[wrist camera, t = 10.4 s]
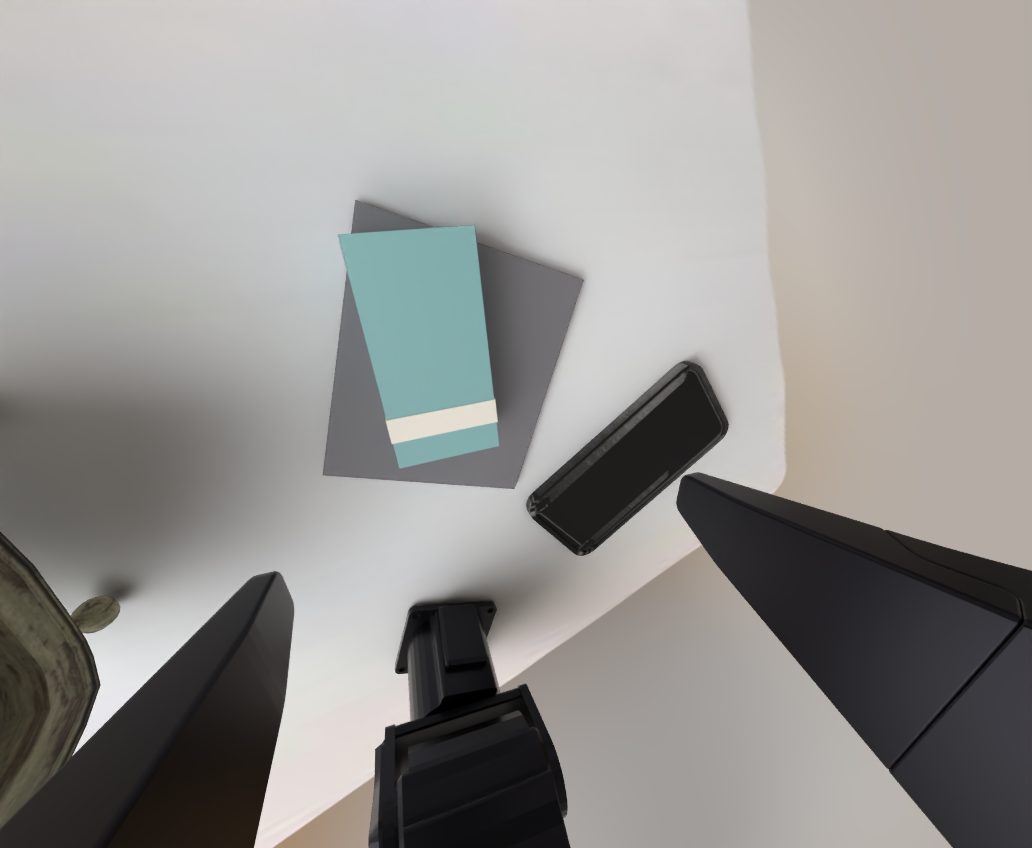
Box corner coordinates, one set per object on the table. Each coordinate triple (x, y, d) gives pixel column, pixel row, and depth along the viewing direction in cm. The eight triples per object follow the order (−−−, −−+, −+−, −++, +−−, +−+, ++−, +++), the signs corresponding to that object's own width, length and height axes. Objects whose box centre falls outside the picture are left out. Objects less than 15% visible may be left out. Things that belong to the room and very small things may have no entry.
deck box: (500, 446, 19) (475, 224, 14) (398, 469, 17) (335, 234, 13) (488, 426, 21) (464, 228, 16) (397, 445, 19) (343, 237, 15)
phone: (523, 511, 24) (697, 357, 23) (518, 500, 25) (684, 352, 24) (583, 560, 28) (733, 431, 27) (576, 550, 29) (721, 425, 28)
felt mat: (512, 484, 24) (514, 488, 23) (324, 470, 19) (322, 475, 19) (579, 279, 19) (583, 279, 19) (356, 201, 15) (355, 199, 15)
